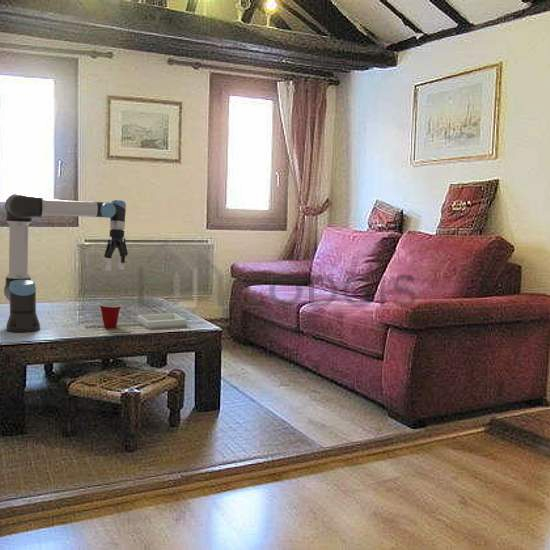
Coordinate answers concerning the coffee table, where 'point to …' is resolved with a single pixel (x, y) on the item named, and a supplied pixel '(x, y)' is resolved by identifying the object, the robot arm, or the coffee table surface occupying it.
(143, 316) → the tray
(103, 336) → the coffee table surface
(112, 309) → the plastic cup
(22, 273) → the robot arm
